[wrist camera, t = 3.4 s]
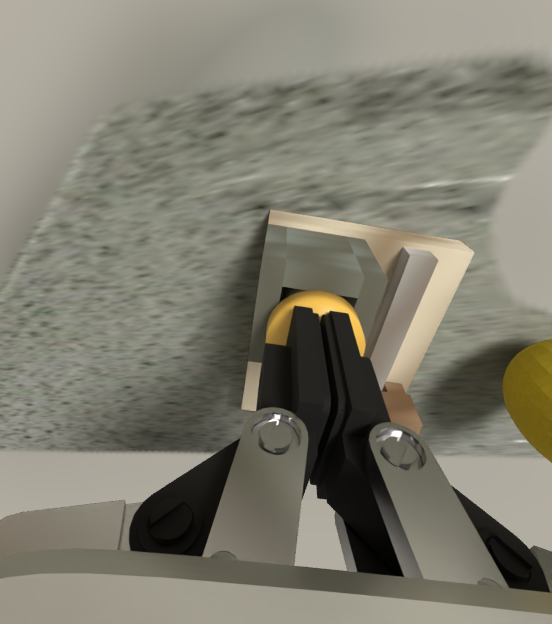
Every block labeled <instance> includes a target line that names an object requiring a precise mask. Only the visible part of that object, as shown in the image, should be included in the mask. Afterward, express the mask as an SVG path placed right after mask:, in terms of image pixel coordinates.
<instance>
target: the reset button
mask: <svg viewBox="0 0 552 624" xmlns="http://www.w3.org/2000/svg"><path fill="white" fill-rule="evenodd" d="M294 306H302V307H309V308H312V309H313V313H318V314H319V320H320V321H321V317H322V315H323V314H325V315H328V314H329V312H330V311H336V312H343V313H348V314H349V317H350V321H351V324H352V328H353V331H354V334H355V338H356V341H357V345H358V348H359V352H360V355H361V356H362V357H363V355H364V352H365V337H364V333H363V330H362V327H361V324H360V321H359V318H358V315H357V313H356V311H355V310H354V308H353V307H352V306H351V304H350V303H349V302H347V301H346V300H345V299H344V298H342V297H340V296H338V295H336V294H334V293H331V292H327V291H322V290H308V291H307V290H301V289H294V288H288V287H285V299H284V300H283V301H281V302H280V303H279V304H278V305H277V306H276V307H275V308H274V310H273V311H272V313H271V315H270V317H269V319H268V323H267V332H266V342H265V343H270V344H277V345H284V346H286V342H287V337H288V333H289V328H290V323H291V319H292V314H293V309H294Z"/></svg>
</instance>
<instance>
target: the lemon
mask: <svg viewBox="0 0 552 624" xmlns="http://www.w3.org/2000/svg"><path fill="white" fill-rule="evenodd" d="M502 388H503V396H504V402H505V405H506V408H507V410H508V412H509V414H510V416H511V418H512V419H513V421H514V423H515V424H516V426H517V428H518V429H519V431H520V432H521V433H522V435H523V436H524V437H525V438H526V440H527V441H528V442H529V443H530V444H531V445H532V446H533V447H534V448H535V449H536V450H537V451H538V452H539V453H541V454H542V455H543V456H544V457H545V458H547V459H548V460H549V461H550V462H552V339H550V340H544V341H541V342H538V343H535V344H532V345H530V346H528V347H526V348H525V349H523V350H522V351H521V352H519V353H518V354H517V355H516V356H515V357H514V358H513V359H512V360H511V362H510V363H509V365H508V367H507V368H506V371H505V374H504V378H503V384H502Z"/></svg>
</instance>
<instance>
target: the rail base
mask: <svg viewBox="0 0 552 624" xmlns="http://www.w3.org/2000/svg"><path fill="white" fill-rule="evenodd" d="M474 253H475V252H473V251H472V250H471V249H470V248H468V247H467V246H466V245H465V244H463V243H462V242H461V241H459V240H453V239H447V238H441V237H435V236H428V235H422V234H416V233H410V232H404V231H398V230H392V229H386V228H380V227H374V226H368V225H362V224H356V223H350V222H343V221H337V220H331V219H325V218H319V217H313V216H307V215H301V214H295V213H289V212H283V211H277V210H271V209H270V215H269V221H268V227H267V233H266V239H265V245H264V250H263V256H262V262H261V269H260V276H259V283H258V290H257V297H256V304H255V311H254V318H253V325H252V332H251V339H250V346H249V353H248V360H247V361H248V366H247V373H246V380H245V387H244V394H243V401H242V408H241V409H243V410H250V411H256V406H257V397H258V387H259V379H260V371H261V365H262V359H263V353H264V348H265V342H266V332H267V323H268V319H269V317H270V315H271V313H272V311H273V310H274V308H275V307H276V306H277V305H278V304H279V303H280V302H281V301H283V300H284V299H285V287H288V288H294V289H301V290H307V291H308V290H322V291H327V292H331V293H334V294H336V295H338V296H340V297H342V298H344V299H345V300H346V301H347V302H349V303H350V304H351V306H352V307H353V308H354V310H355V311H356V313H357V315H358V318H359V321H360V324H361V327H362V330H363V333H364V337H365V352H364V355H363V357H368V358H370V360H371V362H372V365H373V368H374V371H375V374H376V377H377V380H378V384H379V387H380V390H381V391H382V389H383V387H384V384H385V382H393V383H400V384H402V385H403V388H404V390H405V393H406V392H407V390H408V388H409V386H410V384H411V382H412V380H413V378H414V376H415V373H416V371H417V369H418V367H419V365H420V363H421V361H422V359H423V357H424V355H425V353H426V351H427V349H428V347H429V345H430V343H431V341H432V339H433V337H434V335H435V333H436V330H437V328H438V326H439V324H440V322H441V320H442V318H443V316H444V314H445V312H446V310H447V308H448V306H449V304H450V302H451V300H452V298H453V296H454V294H455V292H456V290H457V288H458V285H459V283H460V281H461V279H462V277H463V275H464V273H465V271H466V269H467V267H468V265H469V263H470V261H471V259H472V257H473V255H474Z"/></svg>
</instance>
